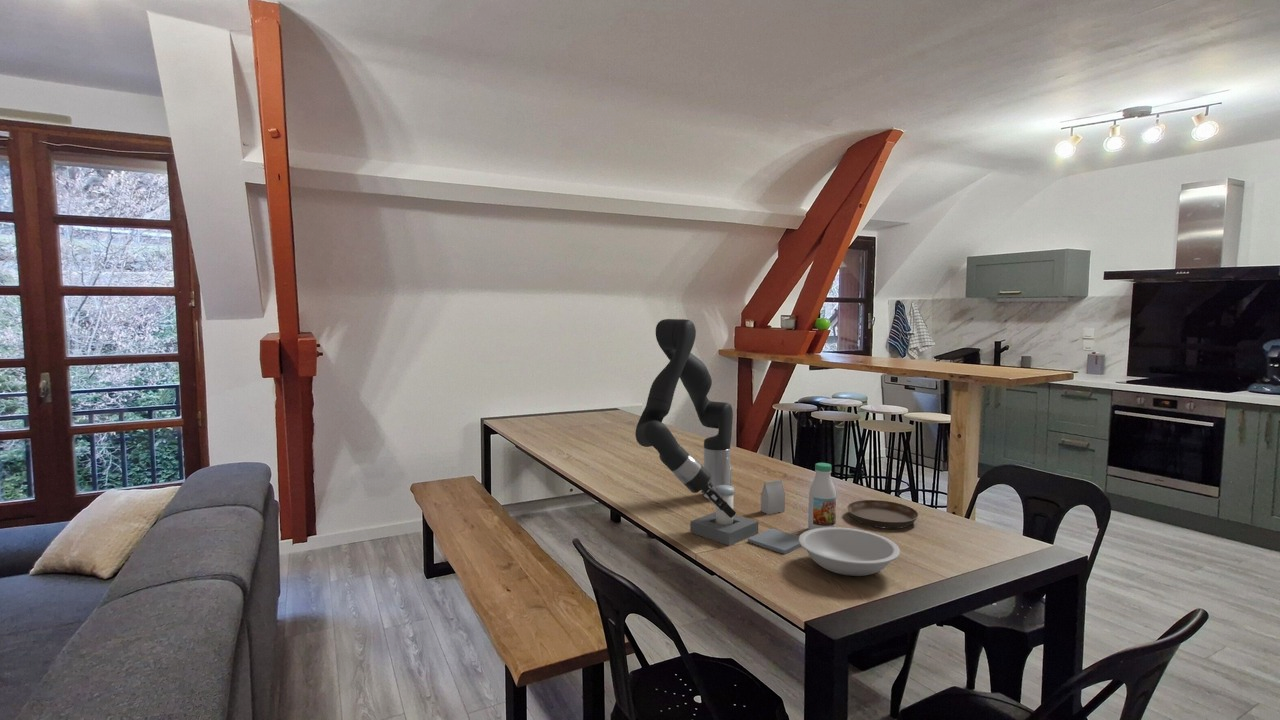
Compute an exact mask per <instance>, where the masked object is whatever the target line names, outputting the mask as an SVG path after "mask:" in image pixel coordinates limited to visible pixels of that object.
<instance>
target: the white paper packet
mask: <svg viewBox="0 0 1280 720" xmlns="http://www.w3.org/2000/svg"><path fill="white" fill-rule="evenodd" d="M785 508H786V492H785V488H784V485H783V480H782V479H779V480H771V481H766V482H765V481H764V482H763V488H762V491H761V493H760V512H761V511H762V513H763V512H764V514H765V513H766V514H765V515H768V514H769V515H774V514H773V513H775V514H779V513H778V512H780V513H785V512H786V511H785V510H786V509H785ZM784 511H785V512H784Z"/></svg>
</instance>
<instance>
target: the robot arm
mask: <svg viewBox="0 0 1280 720" xmlns="http://www.w3.org/2000/svg"><path fill="white" fill-rule="evenodd" d="M696 330H697V329H696V326H695V323H694V322H693V321H692V320H690V319H685V318H684V319H682V318H681V319H680V318H677V319H676V318H666V319H661V320H660V321H658V322H657V324H656V326H655V338H656V341H657V343H658V346H659V348H660V349H661V351H662V352H663V353H664V354H665V356H666V357H667V358H668V360H669V361H668V363H667V365H665V367H664V368H663V369H662V370H661V371H660V372H659V374H657V376H656V377H655V378H654V379H653V382H652V383H651V386H650V388H649V389H650V390H649V393H648V396H647V401H646V405H645V406H644V409H643V412H642V413H641V415H640V417H639V419H638V423H637V424H636V428H635V439H636V442H637V444H639V445H640V446H641V447H645V448H650V447H653V448H654V449H655V450H656V451H657V452H658V454H659V459H660V461H661V463H662V464H663V465H664V466H666V468H668V469H669V470H670V471H671V473H673V475H674V476H675V477H676V478H677V480H678V481H680V482H681V483H682V484H683V485H684V486H685V487H686V488H687V489H688V490H689V491H690V492H691V493H692V494H696V493H699V492H700V493H701V494H702V496H703V497H704V498H706V499H708V501H710V502H711V504H713V505H714V506H716V505H717V506H718V507H719V508H720V510H723V511H724V512H725V513H726V514H727V515H728V516H729V517H730V518H732V517H733V516H734V515H737V514H736V513H737V512H736V511H735V510H734V508H733V509H732V508H731V507H730V506H729V505H728V504H727V502H725V501H724V500H723V499H722V495H721V494H720V493H719V492H718V491H717V490H716V486H718V485H729V486H732V477H733V475H732V471H733V470H732V468H731V444H732V435H733V434H732V432H733V418H734V412H733V411H734V410H733V407H732V404H731V403H729V402H725V401H724V402H723V401H722V402H721V401H714V400H713V401H711V400H710V399H709V398H708V394H709V392H710V390H711V388H712V385H713V384H712V383H713V381H712V380H713V379H712V376H711V374H710V371H709V370H708V368H707V366H706V365H705V362H703V360H701V359H700V358H698V357H697V356H696V355H694V354H693V353H691V352H692V349H693V347H694V345H695V341H696V335H697V331H696ZM679 380H680V382H681V383H682V385H683V387H684V388H685V390H686V392H687V394H688V396H689V398H690V400H691V402H692V404H693V406H694V408H695V411H696V414H697V417H698V419H699V422H700V423H701V425H702V426H703V427H706V428H710V429H717V430H718V432H717V434H716V435H713V436H708V437H707V438H705V439H704V440H703V464H701V463H700V462H699V461H698V460H697V459H696V458H695V457H694V456H692V455H691V454H690V453H689V452H687V450H686V449H684V448H683V446H681V444H679V443H678V441H677V439H676V437H674V436H675V435H673V434H672V431H671V430H670V429H669V428H668V427H667V426H666V425H665V424H664V423H663V420H664V418H665V417H666V416H668V414H669V412H670V410H671V406H672V403H673V399H674V395H675V391H676V388H677V385H678V382H679ZM721 502H723V503H722V504H721V506H720V505H719V504H720V503H721Z"/></svg>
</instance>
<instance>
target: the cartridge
mask: <svg viewBox="0 0 1280 720" xmlns="http://www.w3.org/2000/svg"><path fill="white" fill-rule="evenodd" d="M716 490H717V491H718V492H719V493H720V494H721V495H722V499H723V500H724V501H725V502H727V504H728V505H729V506H730V507H731V508H732V509H733V510H734V495H735V487H734V486H732V485H731V486H729V485H718V486H716ZM722 503H723V502H721V503H720V504H719V505H720V506H721V504H722ZM715 512H716V524H719V525H722V526H726V527H727V526H730V525H732V524H733V517H732V518H730V517H729V516H728V515H727V514H726V513H725V512H724V511H723V510H720V508H719V507H718V506H717V505H715Z"/></svg>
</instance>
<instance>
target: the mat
mask: <svg viewBox="0 0 1280 720" xmlns="http://www.w3.org/2000/svg"><path fill="white" fill-rule="evenodd" d="M799 537H800V535H796V534H793V533H789V532H787V531H786V532H785V531H783V530H780V529H776V528H769V529H767V530H764V531H762V532H760V533H757V534H755V535H753V536H751V537H748V538H747V543H749V542H750V543H749V544H752V543H753V544H752V545H755V544H756V546H758V545H759V547H762V548H764V549H768V550H771V551H773V552H777V553H780V554H783V555H787V554H788V553H790V552H792V551H794V550H796V549H798V548H800V547H801V545H800V544H799Z"/></svg>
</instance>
